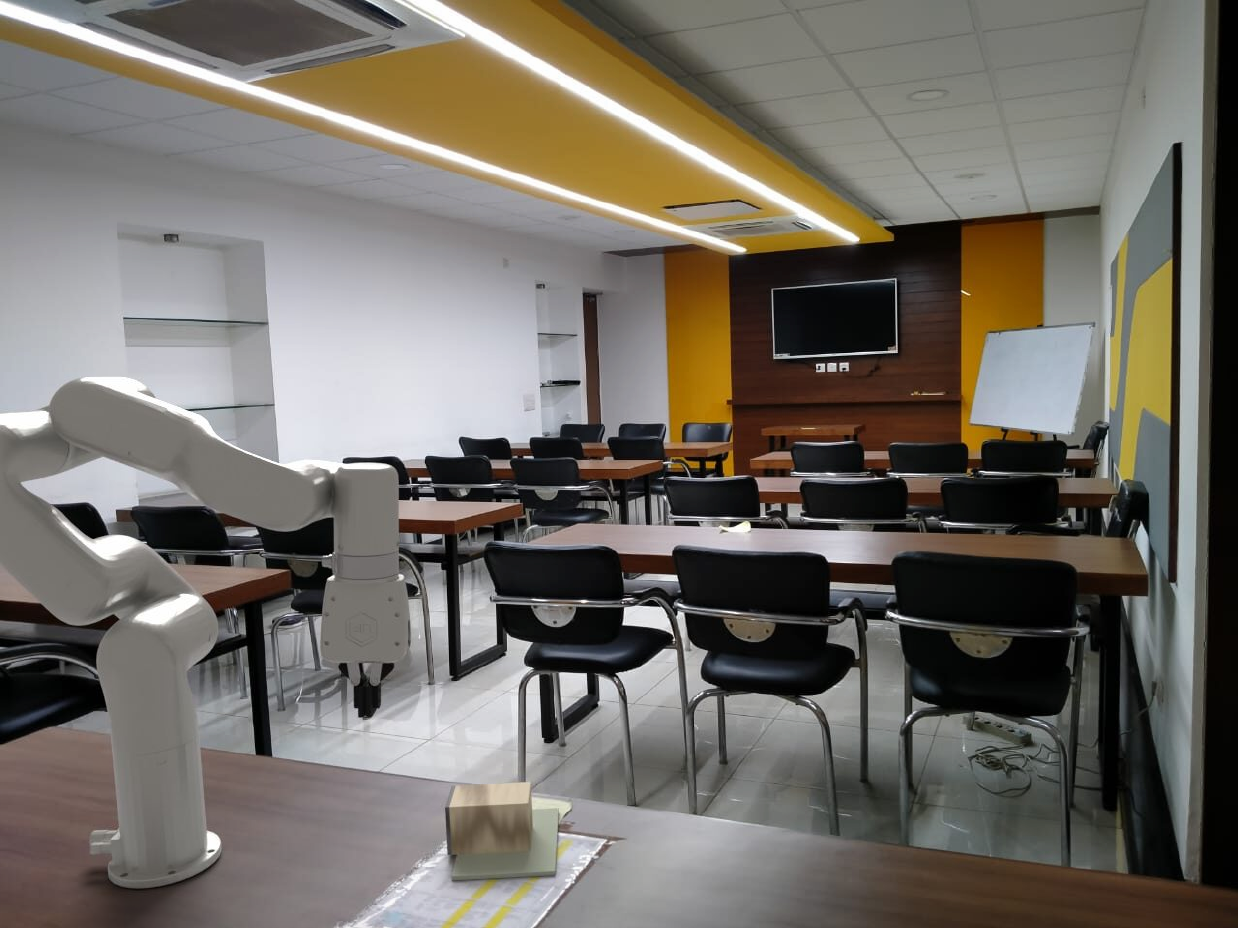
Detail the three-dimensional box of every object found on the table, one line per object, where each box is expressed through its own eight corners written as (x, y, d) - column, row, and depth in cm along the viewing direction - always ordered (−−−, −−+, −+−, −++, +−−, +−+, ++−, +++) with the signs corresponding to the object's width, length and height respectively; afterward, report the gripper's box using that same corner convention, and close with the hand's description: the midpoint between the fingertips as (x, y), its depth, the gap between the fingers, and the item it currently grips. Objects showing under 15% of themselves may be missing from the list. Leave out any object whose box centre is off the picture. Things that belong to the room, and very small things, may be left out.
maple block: (444, 807, 114) (528, 803, 114) (451, 785, 120) (530, 781, 120) (447, 854, 114) (530, 850, 115) (454, 831, 120) (532, 827, 121)
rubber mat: (451, 880, 110) (451, 876, 109) (468, 816, 125) (468, 812, 125) (555, 874, 110) (555, 870, 110) (558, 811, 126) (558, 808, 126)
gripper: (294, 571, 110) (296, 724, 111) (424, 573, 110) (424, 725, 112) (312, 559, 117) (314, 702, 119) (434, 560, 118) (433, 703, 119)
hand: (367, 713), depth 115 cm, fingers closed
